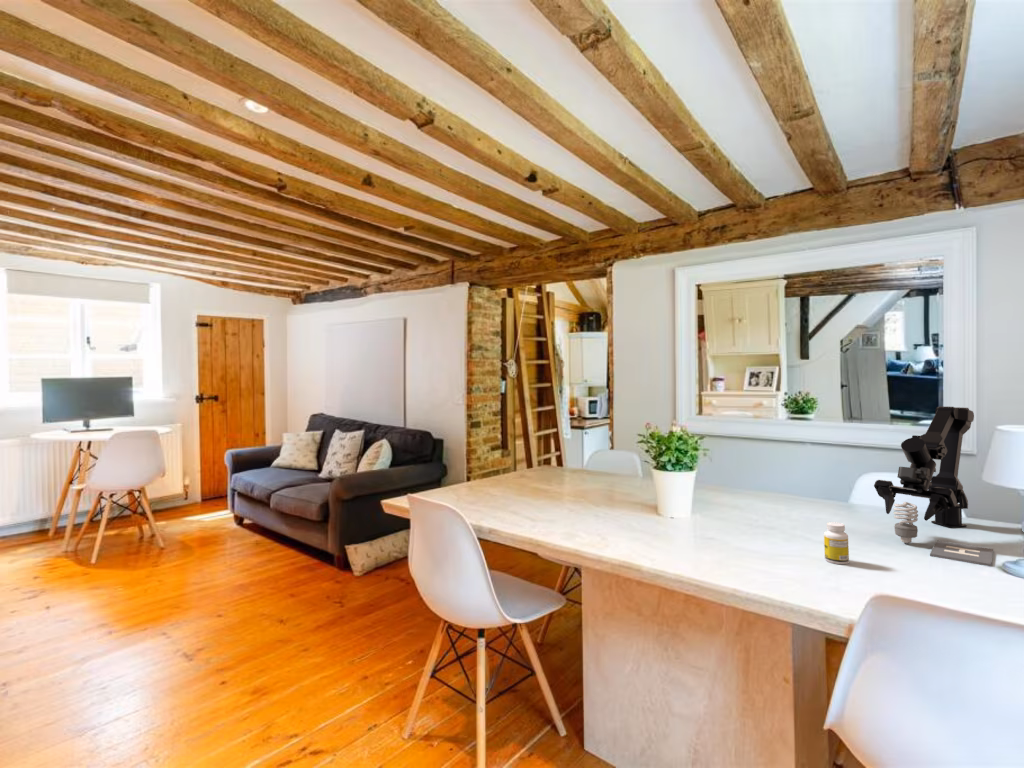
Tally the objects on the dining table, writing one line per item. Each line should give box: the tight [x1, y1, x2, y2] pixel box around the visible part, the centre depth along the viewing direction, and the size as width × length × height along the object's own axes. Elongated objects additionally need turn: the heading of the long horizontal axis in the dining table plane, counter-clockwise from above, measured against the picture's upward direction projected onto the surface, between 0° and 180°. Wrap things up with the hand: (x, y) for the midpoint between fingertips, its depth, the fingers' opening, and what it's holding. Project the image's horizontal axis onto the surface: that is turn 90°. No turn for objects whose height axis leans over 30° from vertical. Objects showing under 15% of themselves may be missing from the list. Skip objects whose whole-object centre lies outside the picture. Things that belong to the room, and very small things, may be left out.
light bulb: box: [893, 501, 919, 545], centre depth 149 cm, size 6×6×12 cm
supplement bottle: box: [823, 521, 850, 565], centre depth 136 cm, size 5×5×10 cm
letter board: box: [929, 539, 994, 567], centre depth 140 cm, size 16×12×1 cm
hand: (905, 516), depth 149 cm, fingers open, 9 cm apart
